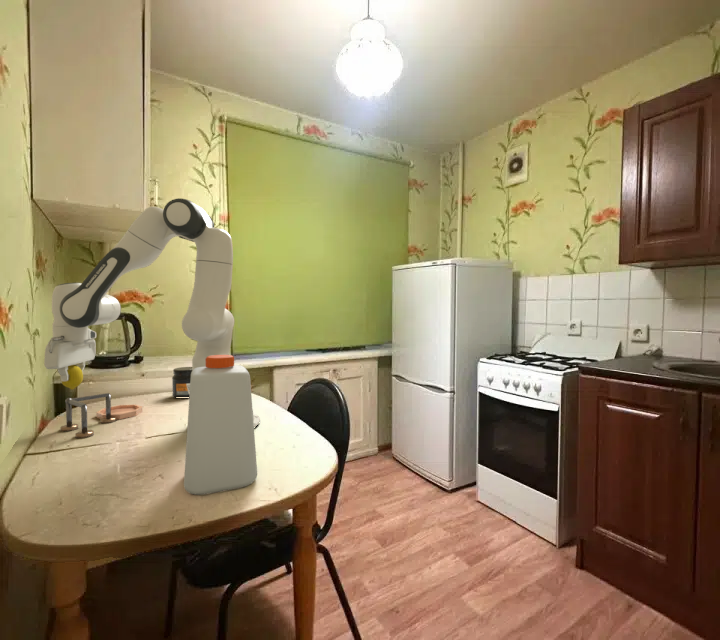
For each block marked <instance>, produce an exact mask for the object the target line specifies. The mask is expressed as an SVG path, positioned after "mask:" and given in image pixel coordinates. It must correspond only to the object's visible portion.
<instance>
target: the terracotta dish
mask: <svg viewBox="0 0 720 640" xmlns="http://www.w3.org/2000/svg"><path fill="white" fill-rule="evenodd" d="M139 413H140V414H141V413H143V406H141V405H138V404H136V403H135V404H134V403H133V404H117V405H111V417H116V421H117V420H122V419H128V417H129V418H133V417H136V416H138V415H140V414H139ZM95 414H96V418H97V419H99V420H101V419H102V418H105V417H106V407H103V408H101V409H100V410H98V411H96V412H95Z"/></svg>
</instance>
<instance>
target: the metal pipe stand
mask: <svg viewBox="0 0 720 640" xmlns="http://www.w3.org/2000/svg"><path fill="white" fill-rule="evenodd" d="M111 397H112V396H111V394H110V392H107V393H99V394H93V395H92V394H91V395H86V396H79V397H74V398H71V397H67V398H66V399H65V401H64V402H65V412H66V413H65V416H66V417H65V418H66V419H65V420H66V421H65V422H66V424H64V425H62V426H60V427H59V428H60V432H62V431H66V432H71V431H72V430H73V431H75V430H78V429H79V423H73V407H72V406H75V407H78V408H80V409H81V410H80V414H81V417H80V418H81V421H80V422H81V430H80V431H78V432H75V434H74V435H75V439H85V438H86V439H87V438H90V437H93V436H94V432H95V431H94V430H92V429H88V405H87V403H84V402H82V401H87V400H94V399H95V400H96V399H100V398H101V399H102V398H105V408H106V417H105V418H102V419H100V423H101V424H111V423H115V422H116V421H117V420H116V417H111V407H112V405H111V404H112V402H111V401H112V399H111Z"/></svg>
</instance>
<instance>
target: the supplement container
mask: <svg viewBox="0 0 720 640" xmlns="http://www.w3.org/2000/svg"><path fill="white" fill-rule="evenodd" d="M172 371H173V376H171V380H172V383H171V385H172V386H171V387H172V394H171V395H172V397H173V396H174V397H189V396H190V380H191V372H192V366H183V367H182V366H181V367H176V368H173V370H172ZM174 397H173V398H174Z"/></svg>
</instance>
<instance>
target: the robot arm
mask: <svg viewBox="0 0 720 640" xmlns="http://www.w3.org/2000/svg"><path fill="white" fill-rule="evenodd" d="M175 237H178V238H180V239H183V240H187V241H189V242H193V243H194V244H195V248H196V258H195V271H194V282H193V288H192V293H191V297H190V299H189V304H188V308H187V310H186V312H185V314H184V316H183V318H182V320H181V329H182V331H183V333H184V334H185V335H186V337H188V338H189V339H191V340H194V341H196V348H195V352H194V354H193V355H192V360H191V367H192V371H193V370H194V369H195V368H198V367H206V357H208V356H212V355H230V351H231V345H232V337H233V331H234V330H233V329H234V326H235V316H233V315H234V314H233V313H232V312H231V311H230V310H228V309H227V308H226V305H227V301H228V297H229V294H230V292H231V290H232V280H233V267H234V266H233V265H234V247H233V240H232V237H231V234H229V232H227V231H226V230H225V229H223V228H219V227H215V224H214V221H213V218H212V217H211V216H210V214H209V213H207V212H206V210H204V209H203V208H202V206H199V205H198V204H196V203H194V202H193V201H191V200H189V199H186V198H180V197H179V198H174V199H171V200H169V201H168V202H167V203H166V204H165V206H164V208H161V207H158V206H148V207H147V208H145V209H144V210H143V211H142V212H141V213H140V214H139V215H138V216H137V218H135V219H134V221H133V222H132V223H131V225H130V226H129V227H128V229H127V230H126V232H125V233H124V234H123V236H122V237H121V239H120V240H119V241H118V242H117V243H116V245H115V246H113V248H112V249H110V250H109V251H108V252H107V253H106V254H105V255H104V256H103V258H101V260H100V261H99V262H98V263H97V264H96V265H95V267H94V268H93V269H92V270H91V271H90V273H89V274H88V275H87V277H86V278H85V279H84V280H83V282H82V283H81V282H65V283H61V284H60V283H59V284H58V285H56V286H55V287H54V289H53V291H52V295H51V313H52V315H53V323H52V337H51V338H50V340H49V341H48V343H47V344H46V346H45V349H44V351H45V352H44V359H43V360H44V362H43V363H44V367H45V369H46V370H57V372H58V374H59V376H60V381H68V380H70V375H68V372H67V370H68V366H71V365H75V366H78V367H79V368H80V369H81V370H82V373H83V374H84V370H85V367H86V362H90V361H93V360H95V358H96V357H95V356H96V354H97V353H96V348H97V346H96V345H97V343H96V340H95V339H96V338H97V332H96V331H94V330H92V329H90V328H89V326H97V325H104V324H105V325H106V324H110V323H114V322H115V321H117V319H119V317H120V315H121V313H122V306H121V303H120V301H119V300H118V299H117V298H116V297H115V296H113V295H110V294H107V293H108V292H109V291H110V289H111V288H112V287H113V286H114V285H115V283H116V282H117V281H118V280H119V279H120V278H121V277H122V276H123V275H125V274H128V273H130V272H133V271H135V270H138V269H139V270H140V269H143V268H148V267H149V266H151V265H152V264H153V263H154V262H156V260H157V259H158V258H159V257H160V255H161V254H162V252H163V250H164V249H165V248H166V246H167V244H168V243H169V242H170V241H171V239H174V238H175ZM253 422H254V427H256V426H257V425H258V424H259V422H260V423H261V417H260V416H259V415H257V414H254V413H253ZM259 425H260V424H259ZM259 425H258V426H259ZM258 426H257V427H258ZM187 427H188V425H187ZM257 427H256V428H257Z"/></svg>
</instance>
